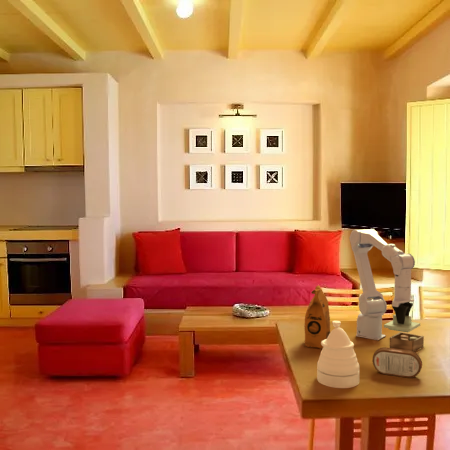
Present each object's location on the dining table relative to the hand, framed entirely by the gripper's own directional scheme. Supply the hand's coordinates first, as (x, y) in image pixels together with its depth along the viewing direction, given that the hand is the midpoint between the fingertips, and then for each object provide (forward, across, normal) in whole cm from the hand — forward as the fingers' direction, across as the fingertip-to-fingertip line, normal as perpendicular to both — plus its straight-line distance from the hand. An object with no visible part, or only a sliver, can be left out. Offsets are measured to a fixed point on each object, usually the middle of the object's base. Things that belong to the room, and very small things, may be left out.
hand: (402, 322), depth 187 cm
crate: (+10, +3, 0) cm, 10 cm away
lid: (+1, 0, 0) cm, 1 cm away
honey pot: (+10, -44, +3) cm, 45 cm away
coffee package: (+10, -14, +28) cm, 33 cm away
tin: (+10, -28, -9) cm, 31 cm away
